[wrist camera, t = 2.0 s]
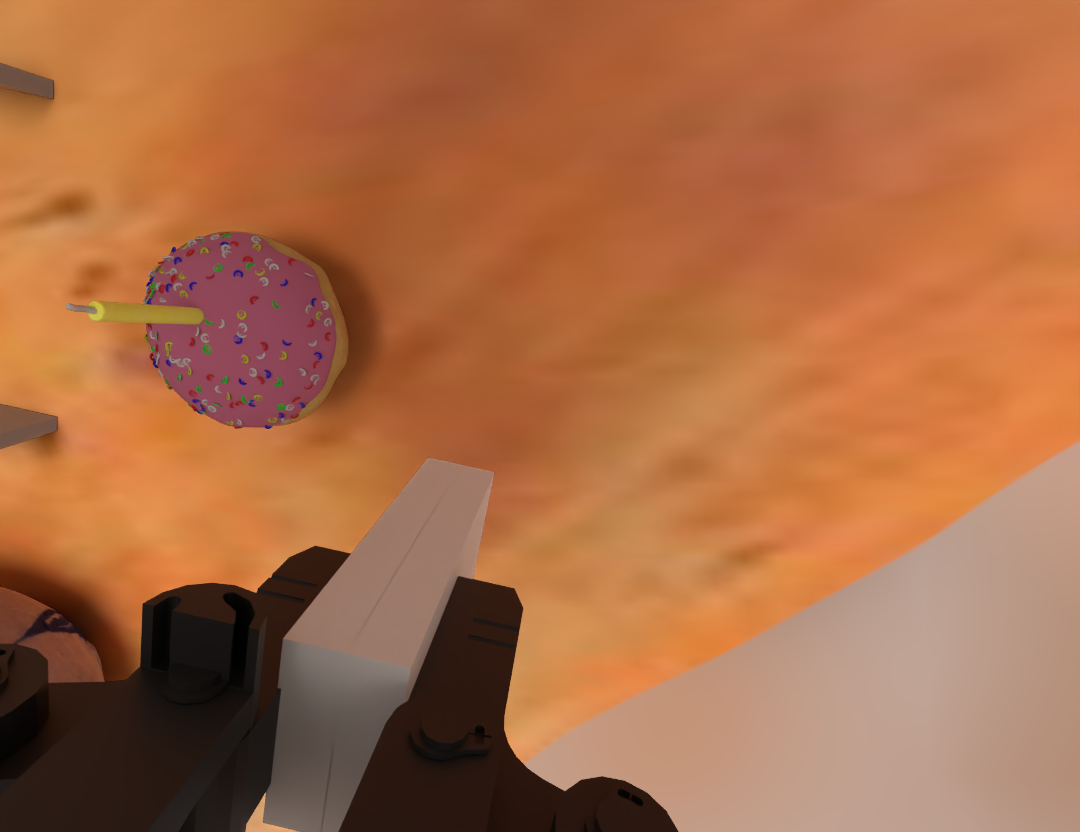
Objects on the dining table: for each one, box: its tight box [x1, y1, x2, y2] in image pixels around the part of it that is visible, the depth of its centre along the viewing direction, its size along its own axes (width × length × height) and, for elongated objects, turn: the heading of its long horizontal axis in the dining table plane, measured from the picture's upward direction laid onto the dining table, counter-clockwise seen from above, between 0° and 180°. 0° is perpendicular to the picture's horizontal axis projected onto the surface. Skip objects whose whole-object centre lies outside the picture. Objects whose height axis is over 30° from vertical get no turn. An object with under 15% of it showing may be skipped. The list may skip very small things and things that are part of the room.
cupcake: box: [66, 232, 349, 429], centre depth 24 cm, size 9×8×12 cm
